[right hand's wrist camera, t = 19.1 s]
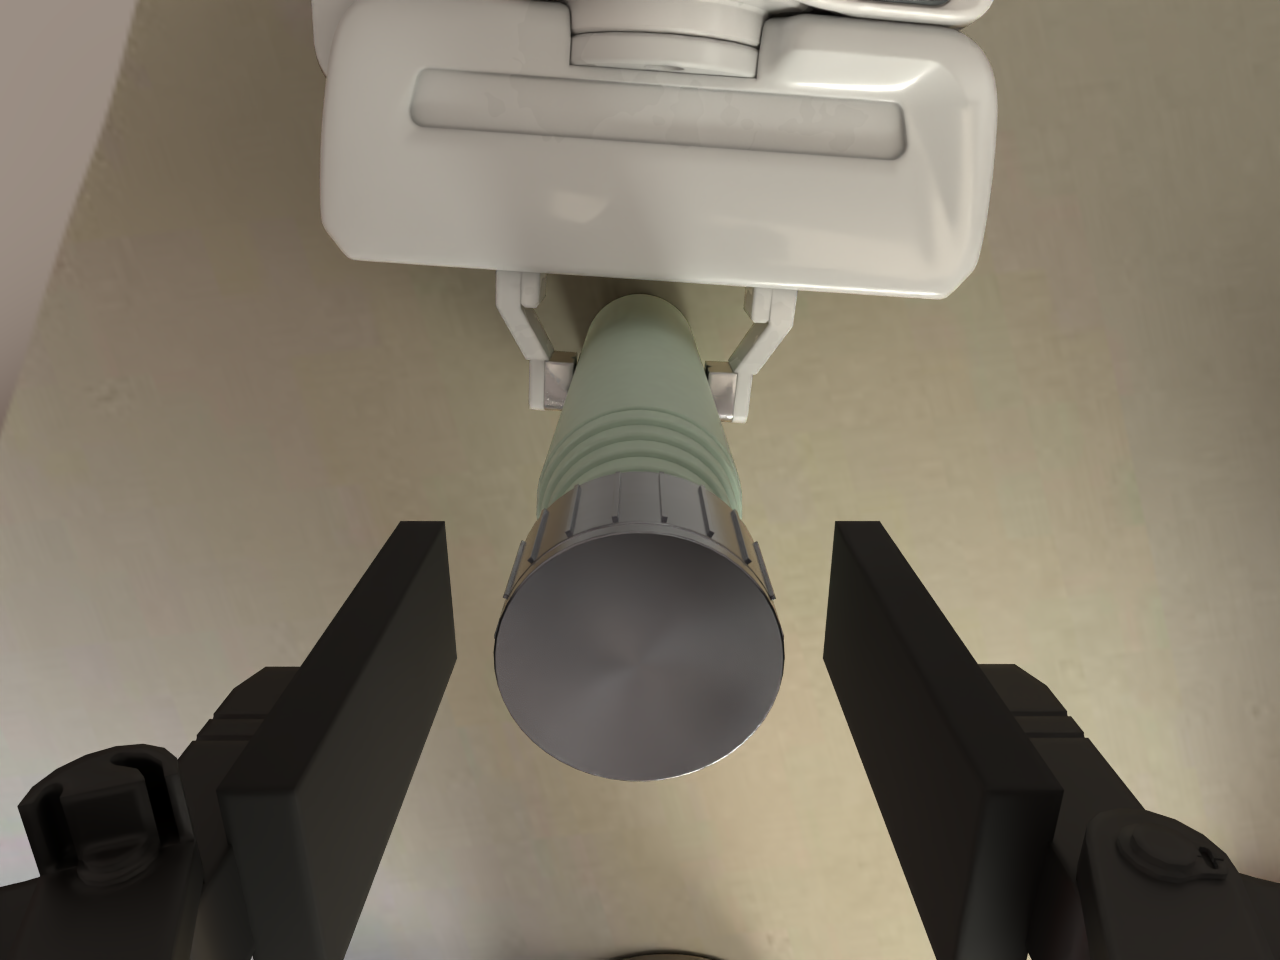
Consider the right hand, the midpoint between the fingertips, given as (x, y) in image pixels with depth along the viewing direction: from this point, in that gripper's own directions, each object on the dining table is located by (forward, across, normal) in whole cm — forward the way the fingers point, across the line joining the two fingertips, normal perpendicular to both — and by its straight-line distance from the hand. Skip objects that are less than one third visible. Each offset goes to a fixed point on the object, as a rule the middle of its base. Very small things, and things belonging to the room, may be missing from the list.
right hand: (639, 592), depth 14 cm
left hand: (+15, 0, -1) cm, 15 cm away
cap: (-2, 0, 0) cm, 2 cm away
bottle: (+21, 0, 0) cm, 21 cm away
